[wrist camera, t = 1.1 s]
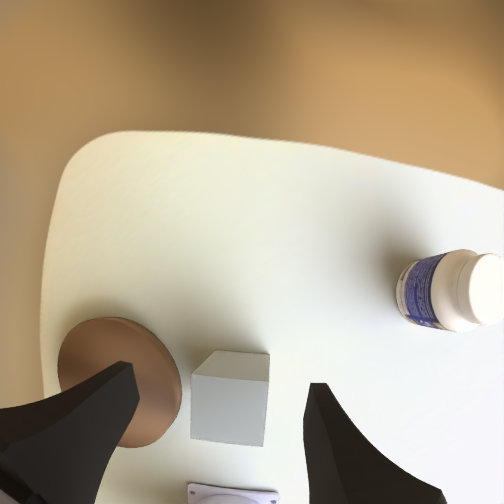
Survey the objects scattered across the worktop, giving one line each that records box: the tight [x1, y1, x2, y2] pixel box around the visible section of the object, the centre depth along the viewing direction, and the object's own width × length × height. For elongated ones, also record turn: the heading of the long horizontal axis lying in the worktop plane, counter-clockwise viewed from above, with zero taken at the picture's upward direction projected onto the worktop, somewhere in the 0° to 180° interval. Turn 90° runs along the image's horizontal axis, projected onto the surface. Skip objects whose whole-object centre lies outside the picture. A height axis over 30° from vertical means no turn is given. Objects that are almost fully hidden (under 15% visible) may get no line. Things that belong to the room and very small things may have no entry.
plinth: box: [58, 317, 182, 448], centre depth 20 cm, size 11×11×2 cm
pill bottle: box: [396, 249, 504, 332], centre depth 16 cm, size 5×5×9 cm
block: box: [191, 350, 270, 447], centre depth 17 cm, size 4×4×7 cm
